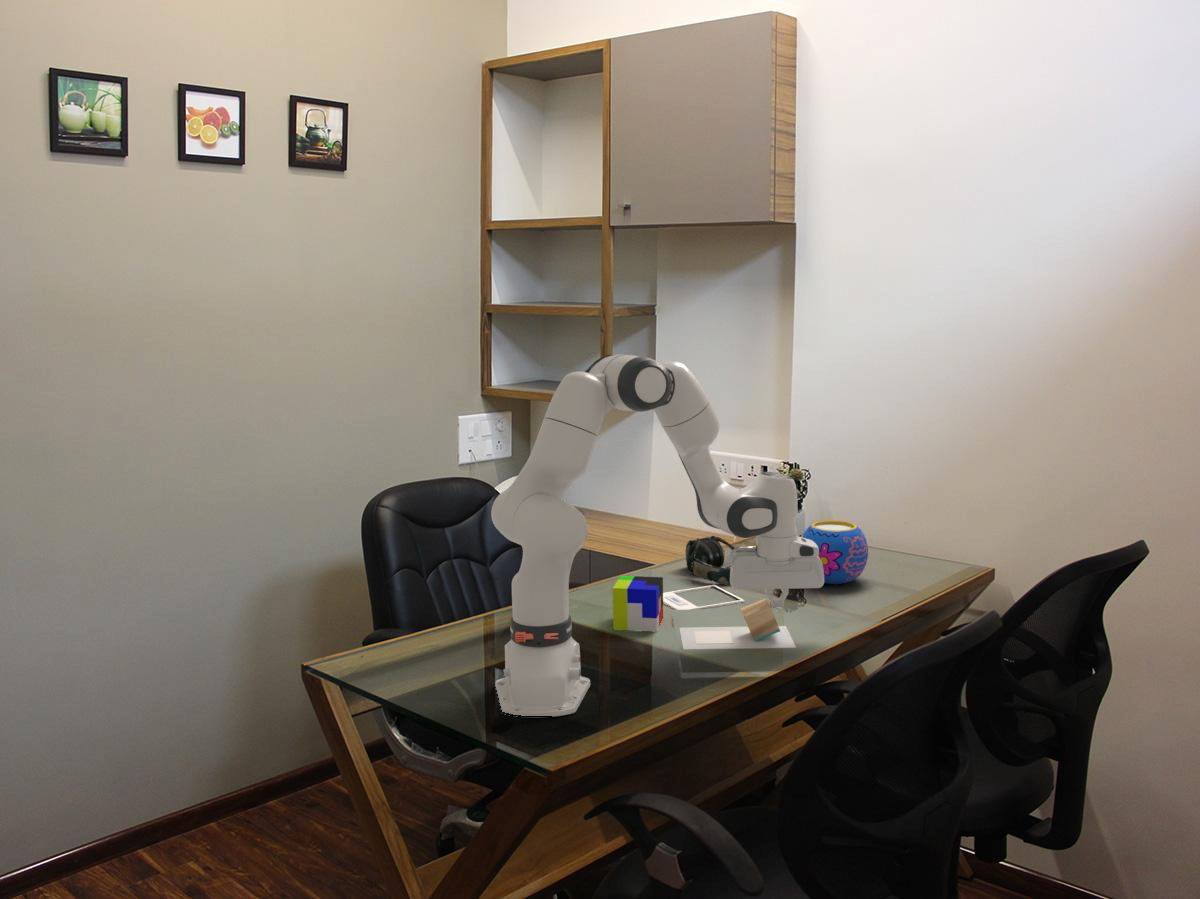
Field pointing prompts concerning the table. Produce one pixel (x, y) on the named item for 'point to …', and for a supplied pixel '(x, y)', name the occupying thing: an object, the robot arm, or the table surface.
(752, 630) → the wood cube
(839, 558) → the ceramic pot
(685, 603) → the photo frame
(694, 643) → the grey board
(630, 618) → the puzzle toy
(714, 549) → the headphones
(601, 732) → the table surface
